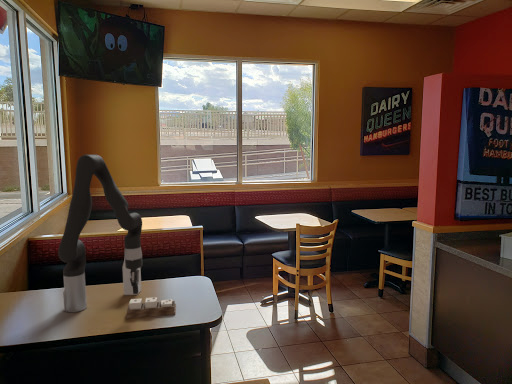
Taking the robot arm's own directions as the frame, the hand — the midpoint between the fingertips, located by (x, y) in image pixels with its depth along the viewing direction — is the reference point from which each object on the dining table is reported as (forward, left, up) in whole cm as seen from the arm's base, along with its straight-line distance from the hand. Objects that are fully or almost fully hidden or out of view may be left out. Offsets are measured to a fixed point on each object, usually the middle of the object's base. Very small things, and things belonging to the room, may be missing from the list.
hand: (135, 293), depth 184 cm
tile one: (0, 0, -7) cm, 7 cm away
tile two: (+7, 0, -7) cm, 9 cm away
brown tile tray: (+7, 0, -10) cm, 12 cm away
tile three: (+14, 0, -8) cm, 16 cm away
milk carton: (-5, +27, -10) cm, 29 cm away
